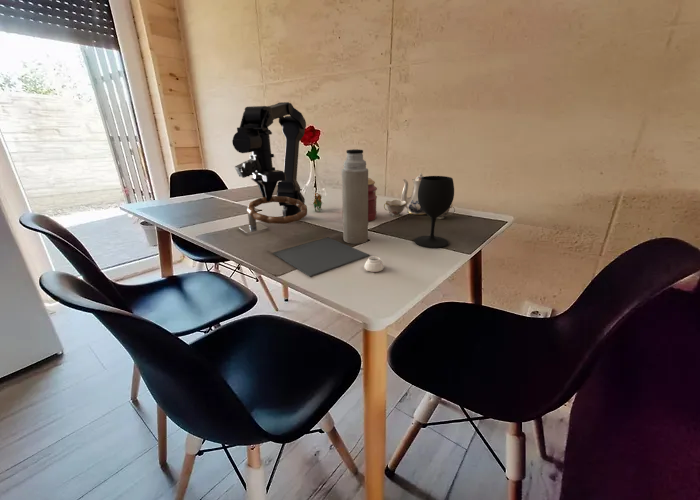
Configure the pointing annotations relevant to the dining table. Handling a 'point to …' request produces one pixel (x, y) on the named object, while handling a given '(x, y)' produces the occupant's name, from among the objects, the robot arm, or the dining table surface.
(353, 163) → the thermos bottle
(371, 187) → the kitchen canister
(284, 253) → the mat
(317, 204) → the figurine
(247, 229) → the metal peg stand
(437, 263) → the dining table surface
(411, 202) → the chinaware
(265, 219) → the ring
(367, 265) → the white jar
